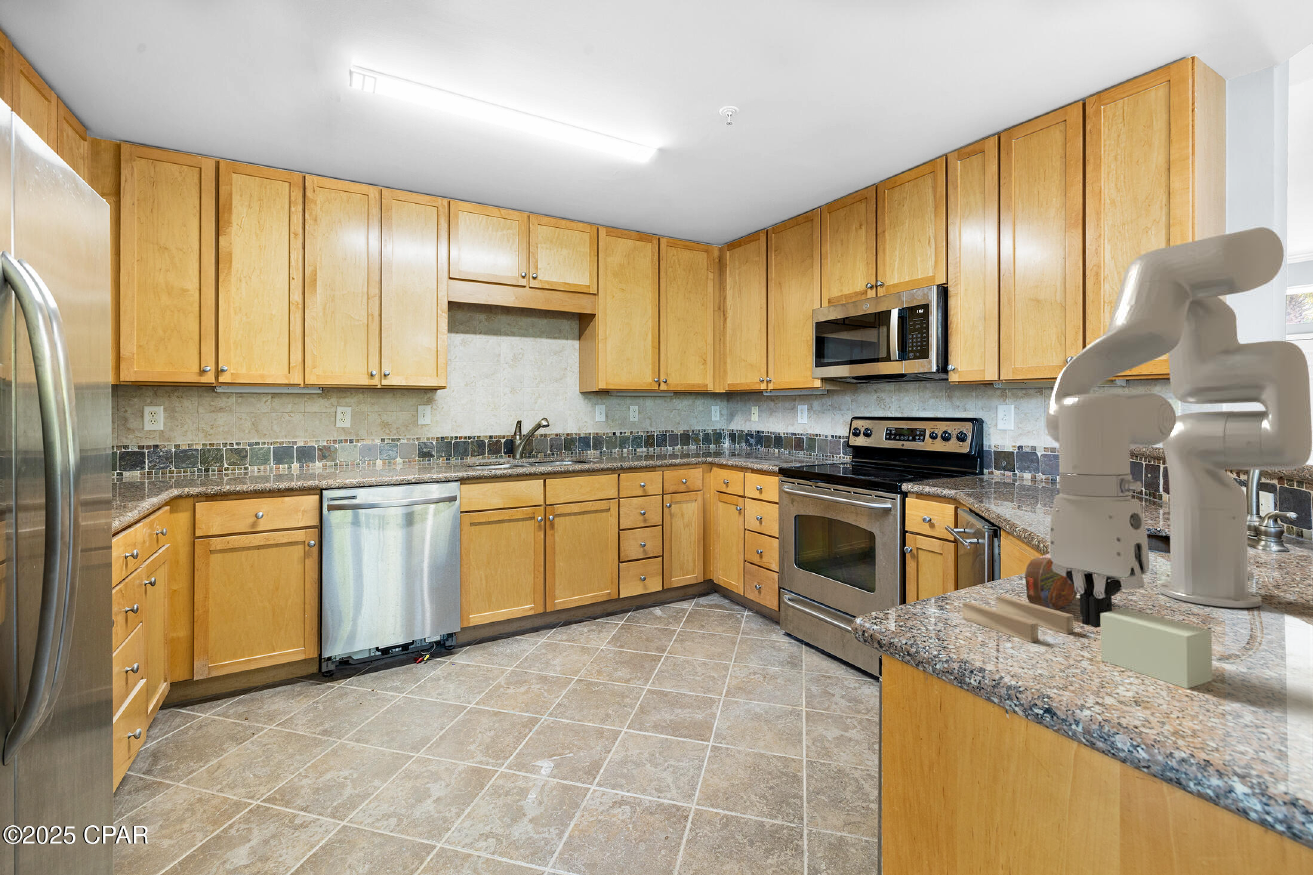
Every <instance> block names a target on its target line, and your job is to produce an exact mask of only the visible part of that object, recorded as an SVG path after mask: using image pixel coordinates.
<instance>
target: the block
mask: <svg viewBox="0 0 1313 875" xmlns="http://www.w3.org/2000/svg"><path fill="white" fill-rule="evenodd" d="M1100 624H1101V627H1100V661H1103V662H1106V663H1108V664H1111V665H1115V666H1117V667H1121V668H1124V669H1127V670H1130V671H1133V672H1135V673H1139V674H1142V675H1145V676H1147V677H1150V678H1154V679H1156V680H1160V681H1163V682H1166V683H1169V684H1172V685H1175V686H1177V687H1181V688H1184V689H1186V690H1188V689H1191V688H1194V687H1196V686H1200V685H1203V684H1206V683H1209V682H1212V681H1213V658H1212V656H1213V655H1212V654H1213V653H1212V652H1213V648H1212V647H1213V646H1212V642H1213V641H1212V638H1213V637H1212V634H1213V633H1212V631H1213V630H1212V629H1210V628H1206V627H1202V626H1198V625H1194V624H1190V623H1186V622H1181V621H1180V620H1179V621H1178V620H1174V619H1171V618H1166V617H1161V616H1157V615H1153V614H1149V613H1145V612H1142V611H1138V610H1133V609H1129V608H1124V607H1123V608H1120V609H1115V610H1114V609H1113V610H1112V611H1110V612H1105V613H1101V614H1100Z"/></svg>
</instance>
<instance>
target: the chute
mask: <svg viewBox="0 0 1313 875" xmlns="http://www.w3.org/2000/svg"><path fill="white" fill-rule="evenodd" d="M995 600H996V601H995V602H996V604H995V605H996V609H994V608H991V607H988V606H985V605H981V604H978V603H974V602H972V601H967V602H962V620H964V621H968V622H971V623H973V624H977V625H978V626H983V627H985V628H989V629H991V630H994V631H996V632H999V633H1003V634H1006V635H1008V636H1012V637H1014V638H1017V639H1020V640H1023V641H1026V642H1030V643H1034V642H1038V641H1039V627H1042V628H1046V629H1049V630H1053V631H1056V632H1059V633H1063V634H1066V635H1068V634H1072V633H1073V634H1074V633H1075V632H1074V631H1075V630H1074V615H1073V614H1070V613H1066V612H1062V611H1059V610H1057V609H1056V610H1052V609H1049V608H1045V607H1042V606H1038V605H1034V604H1031V603H1029V602H1026V601H1022V600H1020V599H1015V598H1012V597H1009V596H1005V595H1000V596H996V598H995Z"/></svg>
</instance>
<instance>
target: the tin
mask: <svg viewBox="0 0 1313 875" xmlns="http://www.w3.org/2000/svg"><path fill="white" fill-rule="evenodd" d="M1052 564H1053V562H1052V561H1051V558H1050V553H1047V554H1044V555H1040V556H1038V557H1036V558H1032V559H1031V560H1029V562H1028V564H1027V565H1026V569H1025V572H1024V579H1025V589H1026V590H1025V591H1026V599H1027V601H1028V603H1031V604H1034V605H1038V606H1042V607H1045V608H1049V609H1052V610H1056V611H1057V610H1058V609H1060V608H1063V607H1065V606H1066V605H1069V604H1071V603H1072V602H1074V600H1076V597H1077V595H1078V593H1077V592H1076V591H1075V587H1074V585H1073V584H1072V583H1071V581H1070V580H1069V579H1068V578H1067V577H1066V576H1063V575H1061V574H1058V573H1056V572H1054V571H1053V570H1052Z"/></svg>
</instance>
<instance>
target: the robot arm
mask: <svg viewBox="0 0 1313 875" xmlns="http://www.w3.org/2000/svg"><path fill="white" fill-rule="evenodd" d="M1284 251H1285V250H1284V246H1283V243H1282V240H1281V238H1280V237H1279V236H1278V233H1276V232H1275V231H1273V230H1272V229H1270V228H1268V227H1261V226H1260V227H1254V228H1250V229H1249V228H1248V229H1245V230H1240V231H1236V232H1231V233H1225V234H1220V235H1215V236H1211V237H1207V238H1202V239H1198V240H1193V241H1188V242H1183V243H1180V244H1174V245H1171V246H1165V247H1162V248H1158V249H1154V250H1151V251H1148V252H1145V253H1143V254H1141V255H1139V256H1137V257H1136V258H1135V259H1133V260H1132V261H1131V263H1130V264H1129V265H1128V266H1127V268H1126V270H1125V272H1124V275H1123V278H1122V281H1121V284H1120V288H1119V291H1118V293H1117V294H1118V295H1117V298H1116V301H1115V304H1114V306H1113V307H1114V308H1113V310H1112V314H1111V317H1110V320H1109V324H1108V327H1107V329H1106V330H1107V331H1105V332H1104V334H1101V336H1099V337H1097V338H1096V339H1095V340H1094V341H1092V342H1091V343H1090V344H1088V345H1087V346H1086V347H1084V348H1083V349H1082V350H1081V351H1080V352H1078V354H1077V355H1075V356H1074V357H1073V358H1072V359H1070V361H1069V362H1068V363H1067V364H1065V366H1064V367H1063V368H1062V369H1061V371H1060V372H1059V374H1058V376H1057V378H1056V380H1055V383H1054V386H1053V389H1052V392H1051V394H1050V397H1049V398H1050V399H1049V402H1048V405H1047V409H1046V415H1045V425H1046V427H1045V428H1046V431H1047V433H1048V435H1049V436H1050V438H1051V439H1052V440H1053V441H1054V442H1056V443H1057V444H1058V447H1059V448H1058V453H1059V454H1058V455H1059V456H1058V461H1059V463H1058V465H1059V469H1058V470H1059V475H1058V476H1059V494H1056V495H1055V496H1054V499H1053V500H1054V501H1053V504H1052V509H1051V515H1050V522H1049V535H1048V536H1049V537H1048V552H1049V553H1050V558H1051V561H1052V562H1053V564H1052V570H1053V571H1054V572H1056V573H1058V574H1061V575H1063V576H1066V577H1067V578H1068V579H1069V580H1070V581H1071V583H1072V584H1073V585H1074V587H1075V591H1076V592H1077V594H1079V613H1080V615H1081V624H1082V625H1085V626H1090V627H1092V628H1095V629H1097V628H1101V624H1100V614H1101V613H1105V612H1110V611H1113V604H1112V603H1113V600H1112V599H1113V597H1115V596H1116V595H1117V593H1119V592H1121V591H1122V590H1138V589H1142V588H1145V582H1144V578H1143V575H1146V574H1147V573H1149V570H1150V553H1149V542H1148V533H1147V528H1146V523H1145V518H1144V514H1143V511H1142V507H1141V504H1140V501H1139V499H1138V498H1137V499H1136V498H1131V497H1132V495H1133V493H1134V492H1136V493H1137V492H1141V490H1142V488H1143V484H1142V482H1141V481H1139V480H1138V481H1137V480H1134V479H1133V475H1132V474H1131V448H1146V447H1154V446H1156V445H1160V444H1162V449H1163V453H1164V456H1165V462H1166V466H1167V474H1168V486H1169V487H1168V488H1169V539H1170V540H1169V542H1170V543H1169V546H1170V549H1169V550H1170V552H1169V553H1170V581H1164V582H1161V583H1159V588H1158V590H1159V592H1160V593H1162V594H1163V595H1165V596H1168V597H1169V598H1173V599H1176V600H1179V601H1183V602H1189V603H1192V604H1193V603H1194V604H1197V605H1198V604H1199V605H1204V606H1213V607H1220V608H1221V607H1222V608H1234V609H1235V608H1236V609H1239V608H1243V609H1246V608H1248V609H1249V608H1257V607H1259V606H1261V605H1262V604H1263V603H1262V600H1263V599H1262V596H1261V595H1259V594H1257V593H1255V592H1252V591H1249V582H1253V581H1254V580H1255V574H1254V573H1253V572H1251V571H1250V570H1248V568H1249V567H1248V566H1249V565H1248V564H1249V563H1248V562H1249V561H1248V557H1249V556H1248V554H1249V552H1248V499H1247V496H1246V493H1245V490H1244V489H1243V488H1242V486H1241V485H1240V484H1239V483H1237V481H1236V480H1235V479H1234V478H1233V477H1232V476H1231V475H1229V473H1228V472H1227V471H1226V470H1254V471H1255V470H1257V471H1291V470H1296V469H1300V468H1302V467H1304V466H1305V465H1306V464H1307V463H1308V462H1309V460H1310V458H1311V453H1312V450H1313V429H1312V428H1313V427H1312V408H1311V386H1310V385H1311V384H1310V374H1309V373H1310V372H1309V365H1308V360H1307V358H1306V354H1305V353H1304V351H1303V350H1302V348H1301V347H1300V346H1299V345H1296V343H1293V342H1291V341H1287V340H1286V341H1284V340H1268V341H1258V342H1248V343H1240V342H1239V339H1238V329H1237V328H1238V326H1237V315H1236V312H1235V311H1234V309H1233V308H1232V307H1231V306H1230V305H1229V304H1228V303H1227V302H1226V301H1225V300H1223V299H1222V298H1220V297H1223V296H1228V295H1235V294H1239V293H1244V292H1248V291H1252V290H1255V289H1257V288H1260V287H1262V286H1265V285H1267V284H1268V283H1270V282H1271V281H1272V280H1274V278H1275V277H1276V276H1277V275H1278V273H1279V272H1280V271H1281V268H1282V265H1283V262H1284V253H1285V252H1284ZM1166 354H1168V365H1169V366H1168V367H1169V368H1168V369H1169V381H1170V387H1171V388H1170V389H1171V393H1172V395H1173V397H1174V398H1175V399H1176V400H1178V402H1182V403H1184V404H1189V405H1190V404H1191V405H1201V404H1202V405H1204V404H1205V405H1209V404H1212V405H1214V404H1217V405H1219V404H1239V403H1240V404H1243V403H1244V404H1245V403H1259V404H1260V405H1262V406H1263V407H1264V410H1239V411H1237V410H1236V411H1234V410H1226V411H1225V410H1223V411H1218V410H1217V411H1200V412H1199V411H1197V412H1188V413H1183V414H1180V415H1176V411H1175V409H1174V407H1173V405H1172V404H1171V402H1170V401H1169V400H1168V399H1167V398H1166V397H1164V396H1162V395H1160V394H1157V393H1154V392H1149V391H1148V392H1147V391H1134V392H1133V391H1131V392H1130V391H1129V392H1110V393H1107V392H1106V393H1105V392H1104V393H1091V392H1092V391H1093V390H1094V389H1096V388H1097V387H1098V386H1099V385H1102V383H1104V382H1105V381H1107V380H1109V379H1111V378H1113V377H1116V376H1117V375H1120V374H1122V373H1124V372H1127V371H1130V370H1132V369H1135V368H1138V367H1139V366H1142V365H1146V364H1147V363H1149V362H1152V361H1154V360H1156V359H1158V358H1161V357H1163V356H1165V355H1166ZM1049 553H1048V554H1049Z"/></svg>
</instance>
